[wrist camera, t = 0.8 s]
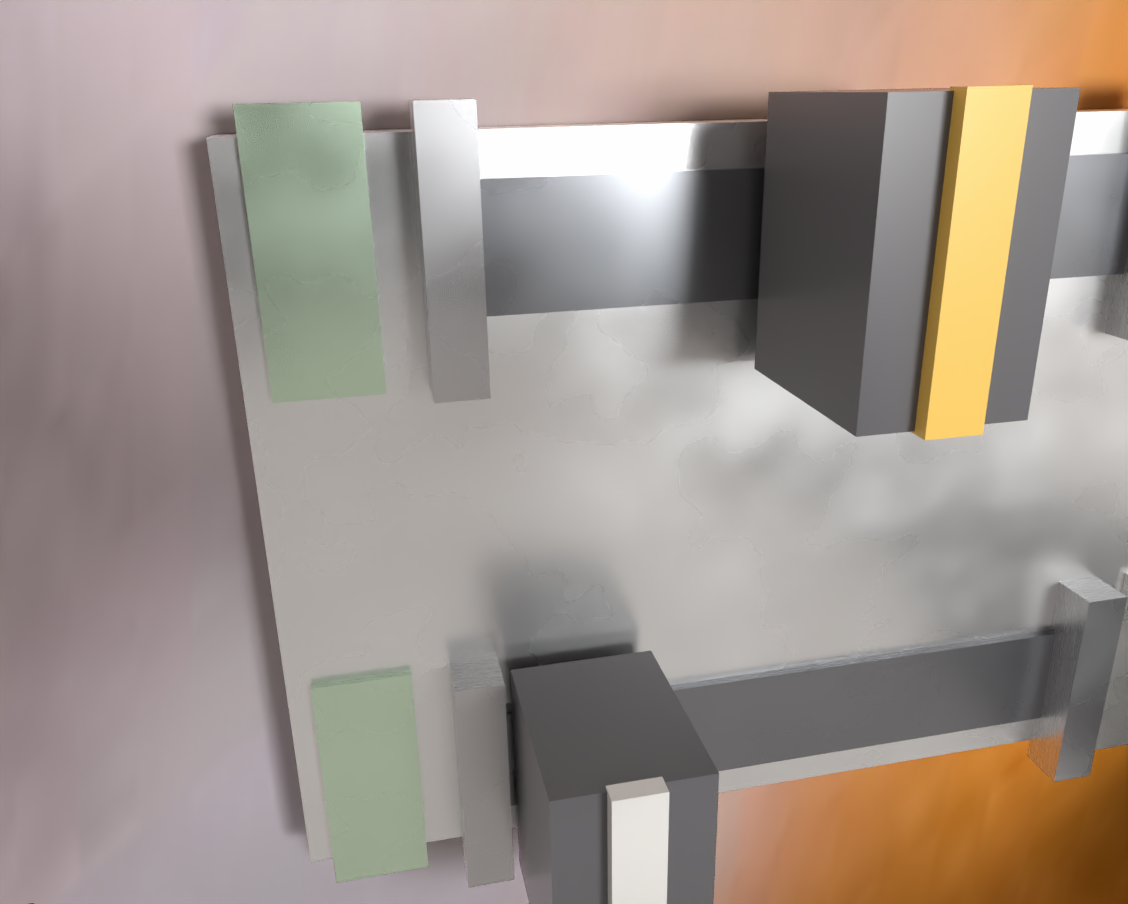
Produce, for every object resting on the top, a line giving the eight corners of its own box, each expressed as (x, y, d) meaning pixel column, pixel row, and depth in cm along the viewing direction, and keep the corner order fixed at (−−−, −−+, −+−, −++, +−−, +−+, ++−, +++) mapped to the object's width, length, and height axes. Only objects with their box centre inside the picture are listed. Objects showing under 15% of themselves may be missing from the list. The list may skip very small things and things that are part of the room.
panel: (1279, 79, 21) (1380, 78, 19) (1137, 704, 26) (1203, 755, 24) (210, 103, 17) (191, 105, 14) (314, 841, 22) (311, 915, 20)
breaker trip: (925, 85, 17) (1096, 84, 13) (896, 359, 19) (1039, 429, 15) (769, 88, 17) (899, 88, 13) (754, 370, 19) (864, 446, 15)
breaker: (650, 648, 20) (725, 781, 16) (648, 839, 22) (714, 1001, 18) (510, 667, 20) (553, 811, 16) (519, 862, 22) (559, 1035, 18)
